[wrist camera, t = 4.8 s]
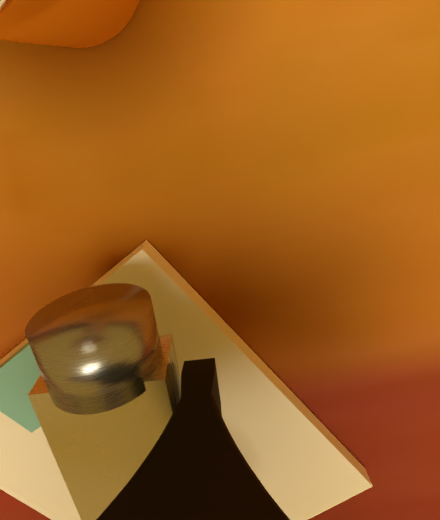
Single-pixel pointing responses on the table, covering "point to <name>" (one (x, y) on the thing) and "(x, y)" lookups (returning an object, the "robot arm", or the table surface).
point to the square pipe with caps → (102, 387)
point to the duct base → (232, 406)
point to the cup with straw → (64, 21)
